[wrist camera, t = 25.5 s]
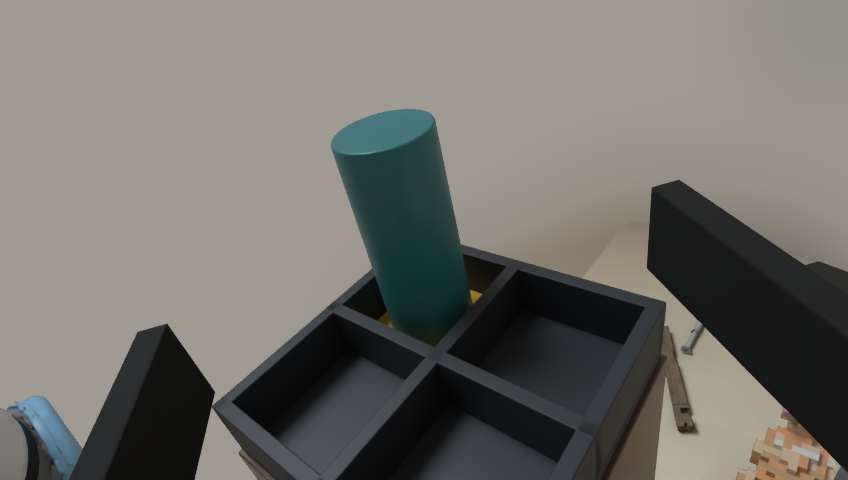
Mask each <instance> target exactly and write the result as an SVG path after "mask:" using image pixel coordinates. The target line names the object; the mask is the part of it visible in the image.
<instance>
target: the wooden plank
mask: <svg viewBox="0 0 848 480" xmlns="http://www.w3.org/2000/svg"><path fill="white" fill-rule="evenodd" d="M661 354H664V355H666V356H667V366H666V377H667V382H668V387H669V392H670V396H671V401H672V405H673V410H674V415H675V420H676V424H677V428H678V431H688V430H690V431H691V430H693V429H694V426H693V421H692V418H691V415H690V414H681V412H684V411H688V410H689V406H688V402H687V398H686V395H685V392H684V388H683V383H682V379H681V375H680V371H679V367H678V362H677V361H676V360H675V359H674V355H675V354H674V348H673V344H672V340H671V335H670V331H669V327H668V326H664V332H663V342H662V351H661Z"/></svg>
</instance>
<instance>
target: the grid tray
mask: <svg viewBox="0 0 848 480" xmlns="http://www.w3.org/2000/svg"><path fill="white" fill-rule="evenodd" d="M461 249H462V254H463V259H464V264H465V269H466V273H467V278H468V283H469V288H470V293H471V298H472V303H473V305H472V306H471V307H470V308H469V309H468V311H467V312H466V313H465V314H464V315H463V316H462V317H461V318H460V319H459V321H458V322H457V323H456V324H455V325H454V326H453V327H452V328H451V330H450V331H449V332H448V333H447V334H446V335H445V336H444V337H443V338H442V340H441V341H440V342H439V343H438V344H437V345H436V346H435V347H433V346H431V345H428V344H426V343H424V342H422V341H420V340H418V339H415V338H413V337H411V336H409V335H407V334H405V333H402V332H400V331H398V330H396V329H394V328H393V327H392V324H391V321H390V318H389V315H388V312H387V309H386V306H385V303H384V300H383V298H382V295H381V292H380V289H379V286H378V283H377V280H376V277H375V274H374V271H373V268H372V269H371V270H370V271H369V272H368V273H367V274H365V275H364V276H363V277H362V278H361V279H360V280H358V281H357V282H356V283H355V284H354V285H353V286H351V287H350V288H349V289H348V290H347V291H346V292H345V293H343V294H342V295H341V296H340V297H339V298H338V299H336V300H335V301H334V302H333V303H331V304H330V305H329V306H328V307H327V308H326V309H325V310H324V311H322V312H321V313H320V314H319V315H318V316H317V317H315V318H314V319H313V320H312V321H311V322H310V323H309V324H307V325H306V326H305V327H304V328H303V329H301V330H300V331H299V332H298V333H297V334H296V335H294V336H293V337H292V338H291V339H290V340H289V341H288V342H286V343H285V344H284V345H283V346H282V347H280V348H279V349H278V350H277V351H276V352H275V353H274V354H272V355H271V356H270V357H269V358H268V359H267V360H265V361H264V362H263V363H262V364H261V365H260V366H258V367H257V368H256V369H255V370H254V371H253V372H251V373H250V374H249V375H248V376H247V377H246V378H244V379H243V380H242V381H241V382H240V383H239V384H237V385H236V386H235V387H234V388H233V389H232V390H230V392H228V393H227V394H226V395H225V396H224V397H222V398H221V399H220V400H218V401H217V402H216V403H215V404H214V405H213V406H212V408H213V409H214V411H215V412H216V413H217V415H218V416H219V417H220V419H221V420H222V422H223V423H224V424H225V426H226V427H227V428H228V430H229V431H230V433H231V434H232V435H233V437H234V438H235V439H236V441H237V442H238V443H239V445H240V446H241V447H242V449H243V450H244V451H245V452H246V453H247V454H248V455H249V456H250V457H251V458H252V459H253V460H254V461H256V462H257V463H258V464H259V465H260V466H261V467H262V468H263V469H264V470H265V471H266V472H268V473H269V474H270V475H271V476H272V477H273V478H274V479H275V480H601V478H602V476H603V474H604V472H605V470H606V468H607V466H608V464H609V462H610V460H611V458H612V456H613V454H614V452H615V450H616V448H617V446H618V444H619V442H620V439H621V437H622V435H623V433H624V431H625V429H626V427H627V425H628V423H629V421H630V419H631V417H632V415H633V413H634V411H635V409H636V407H637V405H638V403H639V401H640V399H641V396H642V394H643V392H644V390H645V388H646V386H647V384H648V382H649V380H650V378H651V376H652V374H653V372H654V370H655V368H656V366H657V364H658V362H659V360H660V358H661V351H662V342H663V332H664V322H665V311H666V302H664V301H660V300H656V299H653V298H649V297H646V296H642V295H639V294H635V293H632V292H628V291H624V290H621V289H617V288H614V287H610V286H607V285H603V284H600V283H596V282H592V281H589V280H585V279H582V278H578V277H575V276H571V275H567V274H564V273H560V272H557V271H553V270H550V269H546V268H543V267H539V266H536V265H532V264H528V263H525V262H522V261H517V260H514V259H510V258H507V257H504V256H500V255H496V254H493V253H489V252H486V251H482V250H479V249H475V248H472V247H468V246H464V245H461Z"/></svg>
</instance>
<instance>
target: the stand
mask: <svg viewBox="0 0 848 480" xmlns="http://www.w3.org/2000/svg"><path fill="white" fill-rule="evenodd" d="M666 366H667V356H666V355H664V354H661V358H660V360H659V362H658V364H657V366H656V368H655V370H654V372H653V374H652V376H651V378H650V380H649V382H648V384H647V386H646V388H645V390H644V392H643V394H642V396H641V399H640V401H639V403H638V405H637V407H636V409H635V411H634V413H633V415H632V417H631V419H630V421H629V423H628V425H627V427H626V429H625V431H624V433H623V435H622V437H621V439H620V442H619V444H618V446H617V448H616V450H615V452H614V454H613V456H612V458H611V460H610V462H609V464H608V466H607V468H606V470H605V472H604V474H603V476H602V478H601V480H654V478H655V469H656V459H657V450H658V441H659V431H660V422H661V413H662V403H663V394H664V385H665V375H666ZM239 455H240V456H241V458H242V459H243V460H244V462H245V463H246V464H247V466H248V467H249V468H250V470H251V471H252V472H253V474H254V475H255V476H256V478H257V479H258V480H275V479H274V478H273V477H272V476H271V475H270V474H269V473H268V472H266V471H265V470H264V469H263V468H262V467H261V466H260V465H259V464H258V463H257V462H256V461H254V460H253V459H252V458H251V457H250V456H249V455H248V454H247V453H246V452H245V451H244V450H243V449H241V450H240V452H239Z"/></svg>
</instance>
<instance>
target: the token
mask: <svg viewBox="0 0 848 480" xmlns="http://www.w3.org/2000/svg"><path fill="white" fill-rule="evenodd" d="M834 480H848V473H847V472H846V471H845V470H844V468H843V467H842V466H841V467H840V469H839V471H838V473H837V475H836V477H835V478H834Z"/></svg>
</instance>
